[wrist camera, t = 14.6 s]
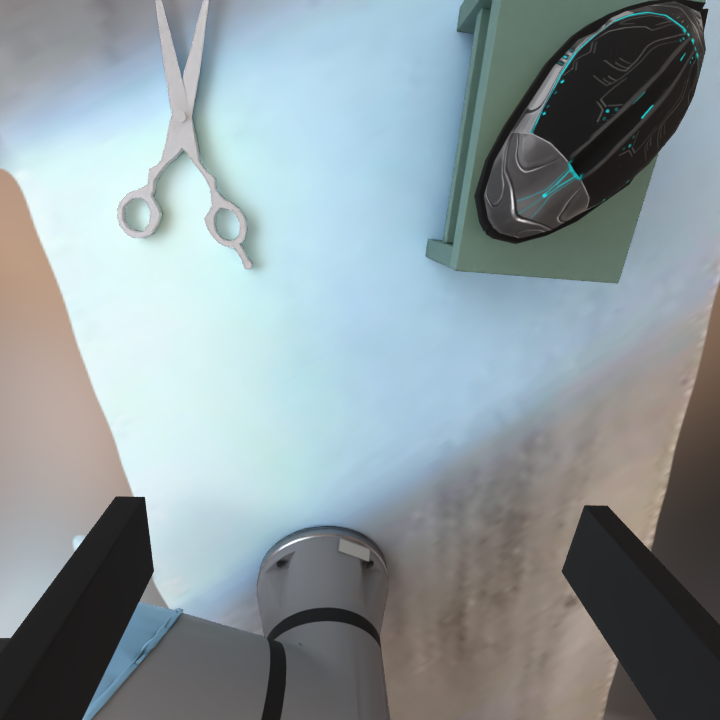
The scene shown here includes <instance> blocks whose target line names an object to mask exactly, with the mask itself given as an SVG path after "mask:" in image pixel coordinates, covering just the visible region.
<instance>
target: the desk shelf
mask: <svg viewBox="0 0 720 720" xmlns="http://www.w3.org/2000/svg"><path fill="white" fill-rule="evenodd" d="M647 1H653V0H464V2H463V3H462V5H461V7H460V12H459V19H458V26H457V31H460V32H467V33H474V39H473V46H472V52H471V59H470V65H469V72H468V79H467V85H466V92H465V98H464V105H463V112H462V118H461V125H460V131H459V138H458V145H457V151H456V158H455V164H454V171H453V178H452V184H451V191H450V197H449V204H448V211H447V217H446V224H445V230H444V237H443V240H433V239H428V242H427V250H426V257H428V258H430V259H432V260H434V261H437V262H439V263H441V264H443V265H445V266H447V267H449V268H451V269H453V270H456V271H466V272H478V273H491V274H504V275H516V276H529V277H542V278H554V279H567V280H580V281H592V282H605V283H618V282H619V279H620V276H621V273H622V269H623V266H624V263H625V260H626V256H627V253H628V250H629V247H630V243H631V240H632V237H633V234H634V230H635V227H636V224H637V221H638V217H639V214H640V211H641V208H642V204H643V201H644V198H645V195H646V191H647V188H648V185H649V182H650V179H651V175H652V172H653V169H654V166H655V162H656V159H657V156H658V153H659V152H658V153H657V155H656V156H655V157H654V158H653V160H652V161H651V162H650V164H649V165H647V166H646V167H645V168H644V169H643V170H642V171H641V172H639V173H638V174H637V175H636V176H635V177H634V179H633V180H632V181H631V183H630V184H629V185H628V186H627V187H625V188H624V189H622V190H621V191H619V192H618V193H617V194H615V195H614V196H612V197H611V198H610V199H608V200H607V201H605V202H604V203H602V204H601V205H600V206H598V207H597V208H595V209H594V210H592V211H591V212H590V213H588V214H587V215H585V216H584V217H583V218H581V219H580V220H578V221H577V222H575V223H573V224H571V225H568V226H566V227H564V228H562V229H560V230H558V231H556V232H554V233H552V234H549V235H547V236H544V237H540V238H537V239H533V240H529V241H526V242H522V243H518V244H513V243H509V242H504V241H500V240H496V239H492V238H491V237H489V236H488V235H487V234H486V232H485V231H483V229H482V227H481V225H480V223H479V220H478V214H477V209H476V203H475V198H474V195H475V192H476V188H477V185H478V182H479V179H480V175H481V172H482V169H483V165H484V162H485V160H486V158H487V156H488V154H489V152H490V150H491V148H492V147H493V145H494V143H495V141H496V139H497V137H498V135H499V134H500V132H501V130H502V128H503V126H504V125H505V123H506V122H507V120H508V119H509V117H510V116H511V114H512V113H513V111H514V110H515V108H516V107H517V105H518V104H519V102H520V101H521V99H522V98H523V96H524V95H525V93H526V92H527V90H528V89H529V87H530V86H531V84H532V83H533V81H534V80H535V78H536V77H537V75H538V74H539V72H540V71H541V69H542V68H543V66H544V65H545V63H546V62H547V61H548V60H549V59H550V58H551V57H552V56H553V55H554V54H555V53H556V52H557V51H558V49H559V48H560V47H561V46H562V45H563V44H564V43H565V42H566V41H567V40H568V39H569V38H570V37H571V36H572V35H574V34H575V33H576V32H578V31H579V30H581V29H582V28H583V27H585V26H586V25H588V24H590V23H592V22H594V21H596V20H598V19H600V18H602V17H604V16H605V15H607V14H609V13H612V12H615V11H617V10H620V9H622V8H625V7H628V6H631V5H635V4H639V3H643V2H647ZM691 1H697V2H704V3H705V0H691ZM703 7H704V6H703ZM702 9H703V8H702Z"/></svg>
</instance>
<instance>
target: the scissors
mask: <svg viewBox="0 0 720 720" xmlns="http://www.w3.org/2000/svg"><path fill="white" fill-rule="evenodd" d="M155 1H156V9H157V16H158V24H159V32H160V40H161V47H162V55H163V62H164V69H165V75H166V81H167V88H168V94H169V100H170V107H171V112H172V116H171V119H170V123H169V129H168V134H167V140H166V144H165V147H164V151H163V155H162V159H161V161H160V162H159V163H158V164H157V165H156V166H154V167H152V168H151V169H149V177H148V184H147V185H146V186H144V187H142V188H140V189H138V190H136V191H132V192H130V193H128V194H127V195H126V196H125V197H124V198H123V199H122V200H121V201H120V203H119V206H118V208H117V218H118V222H119V225H120V226H121V228H122V229H123V230H124V232H125V233H126V234H127V235H128V236H131V237H133V238H146V237H148V236H150V235H152V234H154V232H155V231H156V229H157V228H158V226H159V224H160V222H161V218H162V214H163V213H162V211H161V209H160V207H159V205H158V204H157V202H156V200H155V198H154V196H153V195H154V194H155V192H156V181H157V180H158V178H159V177H160V175H161V174H162V172H163V171H164V170H165V169H166V167H167V166H168V165H169V164H170V163H171V162H173V161H174V160H175V159H176V158H177V157H178V156H179V155H180V154H181V153H182V152H183V151H185V152H186V153H187V155H188V156H189V157H190V159H191V160H192V162H193V163H194V164H195V166H196V167H197V168H198V169H199V171H200V172H201V173H202V175H203V176H204V178H205V179H206V181H207V183H208V185H209V187H210V190H211V201H212V206H211V208H210V211H209V212H208V214H207V215H206V217H205V218H204V220H205V223H206V226H207V229H208V231H209V232H210V234H211V235H212V236H213V238H214V239H215V240H216V241H217V242H218V243H219V244H222V245H224V246H228V247H234V248H235V250H236V251H237V253H238V254H239V256H240V258H241V259H242V263H243V266H244V268H245V269H250V268H252V267H253V262H252V261H251V260H250V259H249V258H248V256H247V254H246V252H245V250H244V248H243V246H242V245H241V243H242V242H243V241H245V237H246V234H247V230H248V229H247V222H246V217H245V216H244V214H243V213H242V212H241V210H240V209H239V208H238V207H237V206H236V205H234V204H233V203H231V202H229V201H227V200H225V199H224V198H223V196H222V195H221V194H220V193H219V192H218V190H217V185H216V178H215V177H214V176H213V175H211V174H210V173H209V172H208V171H207V170H206V169H205V167H204V166H203V165H202V163H201V160H200V154H199V148H198V143H197V138H196V133H195V129H194V125H193V121H192V116H193V110H194V104H195V99H196V93H197V87H198V82H199V76H200V69H201V62H202V56H203V48H204V39H205V31H206V23H207V16H208V9H209V2H210V0H203V4H202V7H201V11H200V15H199V18H198V22H197V25H196V29H195V34H194V38H193V42H192V46H191V50H190V53H189V57H188V60H187V63H186V67H185V70H184V73H183V81H182V77H181V73H180V69H179V65H178V61H177V57H176V53H175V49H174V46H173V42H172V38H171V34H170V30H169V27H168V23H167V19H166V15H165V12H164V8H163V4H162V1H161V0H155ZM136 198H142V199H143V200H145V201H146V202H147V204H148V206H149V209H150V219H149V224H148V226H147V227H146V229H145V230H144V231H143V232H142V231H136V230H133V229H132V228H131V227H130V226H129V224H128V222H127V220H126V207H127V206H128V205H129V204H130V203H131V202H132V201H133V200H134V199H136ZM221 208H224V209H230V210H232V211H233V213H234V214H235V215H236V216H237V218H238V220H239V225H240V231H239V236H238V237H237V238H236V239H234V240H233V241H231V240H226V239H224V238H222V237H221V236H220V234H219V233H218V231H217V228H216V222H215V221H216V214H217V213H218V212H219V211H220V209H221Z"/></svg>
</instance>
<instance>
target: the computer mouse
mask: <svg viewBox="0 0 720 720" xmlns="http://www.w3.org/2000/svg"><path fill="white" fill-rule="evenodd" d="M704 4H705V3H704V2H697V1H691V0H653V1H647V2H643V3H639V4H635V5H631V6H628V7H625V8H622V9H620V10H617V11H615V12H612V13H609V14H607V15H605V16H604V17H602V18H600V19H598V20H596V21H594V22H592V23H590V24H588V25H586V26H585V27H583V28H582V29H581V30H579V31H578V32H576V33H575V34H574V35H572V36H571V37H570V38H569V39H568V40H567V41H566V42H565V43H564V44H563V45H562V46H561V47H560V48H559V49H558V51H557V52H556V53H555V54H554V55H553V56H552V57H551V58H550V59H549V60H548V61H547V62H546V63H545V65H544V66H543V68H542V69H541V71H540V72H539V74H538V75H537V77H536V78H535V80H534V81H533V83H532V84H531V86H530V87H529V89H528V90H527V92H526V93H525V95H524V96H523V98H522V99H521V101H520V102H519V104H518V105H517V107H516V108H515V110H514V111H513V113H512V114H511V116H510V117H509V119H508V120H507V122H506V123H505V125H504V126H503V128H502V130H501V132H500V134H499V135H498V137H497V139H496V141H495V143H494V145H493V147H492V148H491V150H490V152H489V154H488V156H487V158H486V160H485V162H484V165H483V169H482V172H481V175H480V179H479V182H478V185H477V188H476V192H475V195H474V198H475V203H476V209H477V214H478V220H479V223H480V225H481V227H482V229H483V231H485V232H486V234H487V235H488V236H489V237H491V238H492V239H496V240H500V241H504V242H509V243H513V244H518V243H522V242H526V241H529V240H533V239H537V238H540V237H544V236H547V235H549V234H552V233H554V232H556V231H558V230H560V229H562V228H564V227H566V226H568V225H571V224H573V223H575V222H577V221H578V220H580V219H581V218H583V217H584V216H585V215H587V214H588V213H590V212H591V211H592V210H594V209H595V208H597V207H598V206H600V205H601V204H602V203H604V202H605V201H607V200H608V199H610V198H611V197H612V196H614V195H615V194H617V193H618V192H619V191H621V190H622V189H624V188H625V187H627V186H628V185H629V184H630V183H631V181H632V180H633V179H634V177H635V176H636V175H637V174H638V173H639V172H641V171H642V170H643V169H644V168H645V167H646V166H647V165H649V164H650V162H651V161H652V160H653V158H654V157H655V156H656V155H657V153H658V152H659V151H660V150H661V148H662V147H663V146H664V145H665V144H666V142H667V141H668V140H669V139H670V138H671V136H672V135H673V134H674V133H675V131H676V130H677V128H678V126H679V124H680V123H681V121H682V119H683V117H684V115H685V113H686V111H687V109H688V107H689V105H690V103H691V101H692V98H693V96H694V93H695V89H696V86H697V82H698V79H699V75H700V71H701V67H702V63H703V59H704V55H705V50H706V49H705V41H704V28H705V23H706V18H707V13H708V9H702V8H703V6H704Z"/></svg>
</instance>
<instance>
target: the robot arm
mask: <svg viewBox="0 0 720 720" xmlns="http://www.w3.org/2000/svg"><path fill="white" fill-rule="evenodd" d="M153 572H154V568H153V560H152V552H151V544H150V536H149V528H148V519H147V511H146V503H145V497H115V498H114V500H113V501H112V503H111V504H110V505H109V507H108V508H107V509H106V511H105V512H104V513H103V515H102V516H101V517H100V519H99V520H98V521H97V523H96V524H95V525H94V527H93V528H92V529H91V531H90V532H89V534H88V535H87V536H86V537H85V539H84V540H83V542H82V543H81V544H80V546H79V547H78V548H77V550H76V551H75V552H74V554H73V555H72V557H71V558H70V559H69V560H68V562H67V563H66V564H65V566H64V567H63V569H62V570H61V571H60V573H59V574H58V575H57V577H56V578H55V579H54V581H53V582H52V583H51V585H50V586H49V587H48V589H47V590H46V592H45V593H44V594H43V596H42V597H41V598H40V600H39V601H38V602H37V604H36V605H35V607H34V608H33V609H32V610H31V612H30V613H29V614H28V616H27V617H26V619H25V620H24V621H23V623H22V624H21V625H20V627H19V628H18V629H17V631H16V632H15V633H14V635H13V636H12V637H11V638H0V720H390V715H389V707H388V699H387V691H386V683H385V675H384V667H383V659H382V652H381V644H380V631H381V625H382V620H383V615H384V610H385V605H386V599H387V594H388V583H389V582H388V573H387V567H386V562H385V559H384V557H383V554H382V553H381V551H380V550H379V548H378V547H377V546H376V545H375V544H374V543H373V542H372V541H371V540H369V539H368V538H366V537H365V536H363V535H361V534H359V533H357V532H354V531H352V530H348V529H345V528H340V527H329V526H325V527H313V528H308V529H304V530H300V531H297V532H295V533H293V534H290V535H288V536H286V537H285V538H283V539H282V540H280V541H279V542H277V543H276V544H275V545H274V546H273V547H272V548H271V549H270V550H269V551H268V553H267V554H266V556H265V557H264V559H263V561H262V563H261V566H260V571H259V576H258V581H257V597H258V603H259V609H260V615H261V620H262V626H263V632H264V637H263V636H260V635H256V634H253V633H249V632H246V631H243V630H239V629H236V628H232V627H229V626H225V625H222V624H219V623H215V622H212V621H208V620H205V619H201V618H198V617H195V616H191V615H188V614H184V613H182V612H183V609H180V608H177V609H175V610H173V609H168V608H163V607H159V606H155V605H151V604H147V603H142V602H139V601H140V599H141V597H142V595H143V593H144V590H145V589H146V586H147V584H148V582H149V580H150V578H151V576H152V574H153ZM562 573H563V575H564V576H565V578H566V579H567V581H568V582H569V584H570V585H571V587H572V589H573V590H574V592H575V593H576V595H577V596H578V598H579V599H580V601H581V603H582V604H583V606H584V607H585V609H586V610H587V612H588V613H589V615H590V616H591V618H592V620H593V621H594V623H595V624H596V626H597V627H598V629H599V630H600V632H601V634H602V635H603V637H604V638H605V640H606V641H607V643H608V644H609V646H610V647H611V649H612V651H613V652H614V654H615V655H616V657H617V658H618V660H619V661H620V663H621V664H622V666H623V668H624V669H625V671H626V672H627V674H628V675H629V677H630V678H631V680H632V682H633V683H634V685H635V686H636V687H637V689H638V691H639V692H640V694H641V695H642V697H643V698H644V700H645V702H646V703H647V705H648V706H649V708H650V709H651V711H652V712H653V714H654V716H655V717H656V719H657V720H720V625H719V624H718V623H717V621H716V620H715V619H714V618H713V617H712V616H711V615H710V614H709V613H708V612H707V611H706V610H705V609H704V608H703V607H702V606H701V605H700V603H699V602H698V601H697V600H696V599H695V598H694V597H693V596H692V595H691V594H690V593H689V592H688V591H687V590H686V589H685V588H684V587H683V586H682V584H680V582H679V581H678V580H677V579H676V578H675V577H674V576H673V575H672V574H671V573H670V572H669V571H668V570H667V569H666V567H665V566H664V565H663V564H662V563H661V562H660V561H659V560H658V559H657V558H656V557H655V556H654V555H653V554H652V553H651V552H650V550H649V549H648V548H647V547H646V546H645V545H644V544H643V543H642V542H641V541H640V540H639V539H638V538H637V537H636V536H635V535H634V534H633V532H632V531H631V530H630V529H629V528H628V527H627V526H626V525H625V524H624V523H623V522H622V521H621V520H620V519H619V518H618V517H617V516H616V514H615V513H614V512H613V511H612V510H611V509H610V508H609V507H608V506H589V505H585V506H584V508H583V511H582V514H581V517H580V520H579V523H578V526H577V529H576V532H575V535H574V537H573V540H572V543H571V546H570V549H569V552H568V555H567V558H566V561H565V563H564V566H563V569H562Z"/></svg>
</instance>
